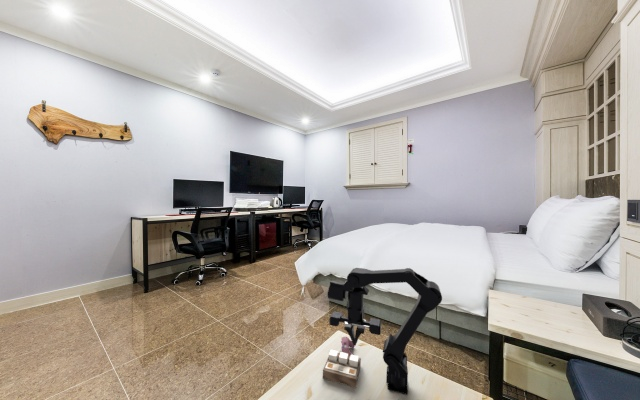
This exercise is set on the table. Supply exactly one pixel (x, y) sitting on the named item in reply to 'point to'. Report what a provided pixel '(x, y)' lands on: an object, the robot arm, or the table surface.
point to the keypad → (341, 372)
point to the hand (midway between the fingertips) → (354, 344)
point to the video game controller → (347, 345)
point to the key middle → (343, 358)
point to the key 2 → (354, 361)
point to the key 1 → (333, 355)
